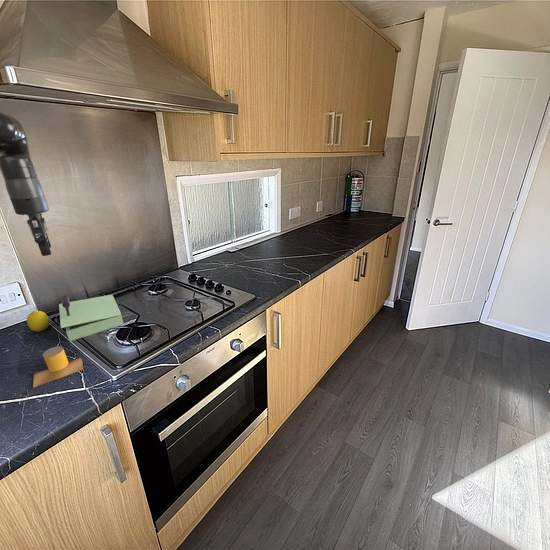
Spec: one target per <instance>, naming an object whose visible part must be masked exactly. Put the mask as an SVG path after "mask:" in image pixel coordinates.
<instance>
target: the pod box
mask: <svg viewBox="0 0 550 550" xmlns="http://www.w3.org/2000/svg"><path fill="white" fill-rule="evenodd" d="M123 325H125V323H124V320H123V316H122V314H121V315H119V316H115V317H110V318H106V319H101V320H96V321H92V322H87V323H83V324H78V325H73V326H69V327H65V333H66V336H67V338H68V341H69V342H72V341H75V340H78V339H82V338H85V337H88V336H91V335H95V334H99V333H101V332H104V331H107V330H111V329H113V328H114V329H115V328H116V327H121V326H123Z"/></svg>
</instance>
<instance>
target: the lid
mask: <svg viewBox="0 0 550 550" xmlns="http://www.w3.org/2000/svg"><path fill="white" fill-rule="evenodd" d="M58 310H59V311H58V312H59V322H60V323H59V325H60V329H63V328H66V327H69V326H73V325H78V324H83V323H87V322H92V321H96V320H101V319H106V318H110V317H115V316H119V315H121V316H122V313H121V310H120V308H119V307H118V303H117V301H116V300H115V297H114V295H113V294H107V295H101V296H96V297H91V298H85V299H78V300H74V301H70V297H69V295H66V294H65V295H62V297H61V303H58Z"/></svg>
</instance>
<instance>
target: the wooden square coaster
mask: <svg viewBox="0 0 550 550" xmlns="http://www.w3.org/2000/svg"><path fill="white" fill-rule="evenodd" d="M68 362H69V363H68V365H67V366H66V367H65V368H63V369H61V370H59V371H55V372H51V371H49V369H48V368H45V369H42V370H39V371H36V372H34V373H33V381H32V382H33V384H32V388H37V387H40V386H42V385H45V384H48V383H50V382H54V381H56V380H59V379H62V378H64V377H68V376H70V375H72V374H75V373H78V372H81V371H84V363H83V358H82V356H80V357H77V358H74V359H71V360H68Z"/></svg>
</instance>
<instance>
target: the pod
mask: <svg viewBox="0 0 550 550" xmlns="http://www.w3.org/2000/svg"><path fill="white" fill-rule="evenodd" d="M42 357H43V360H44V362H45V364H46V367H47V369H49V371H51V372H55V371H59V370H61V369H63V368H65V367H66V366H67V365H68V363H69V362H68V361H69V359H68V356H67V355H66V352H65V350H64V347H63V346H61V345H60V346H59V345H58V346H57V345H56V346H53V347H50V348H48V349H47V350H45V351H44V352H42Z"/></svg>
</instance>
